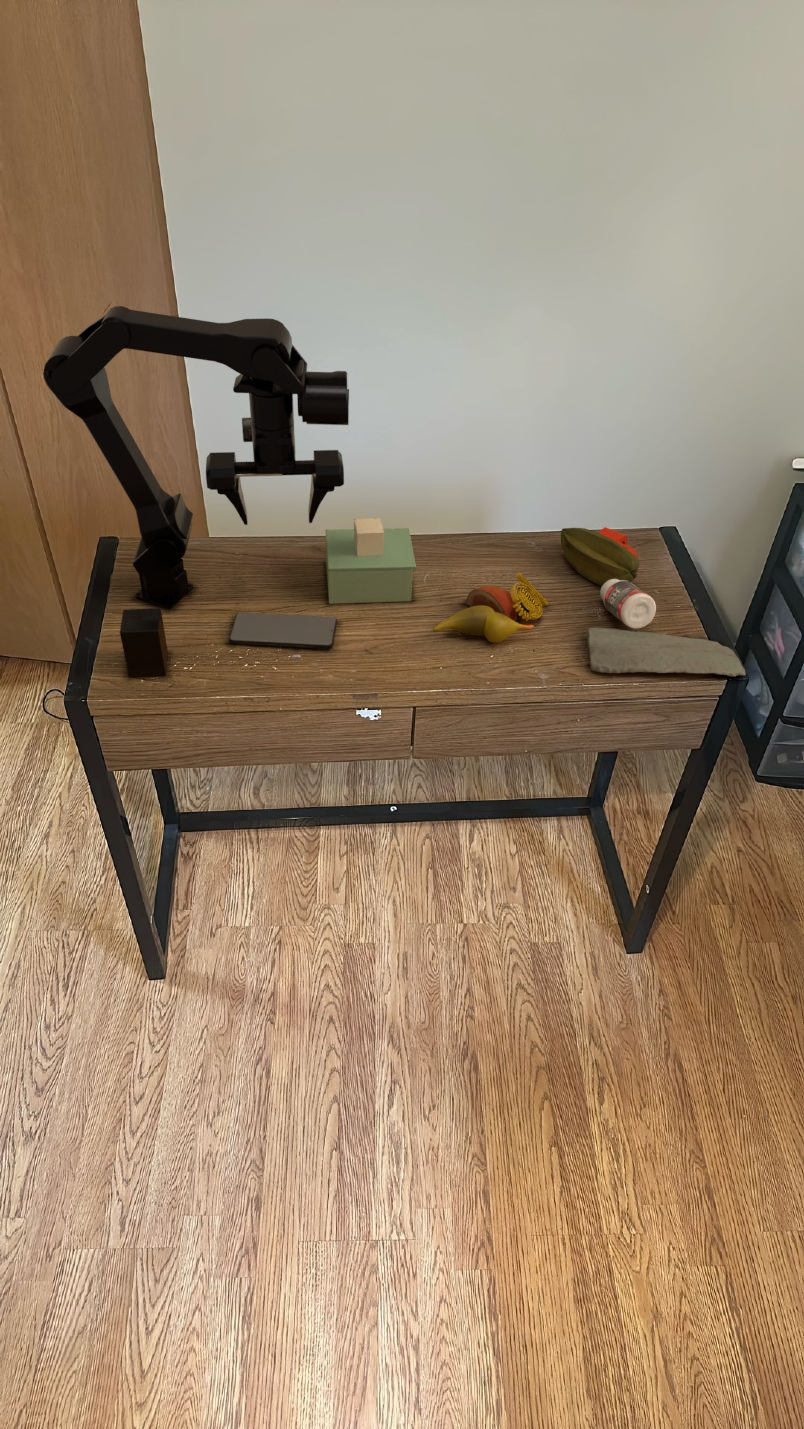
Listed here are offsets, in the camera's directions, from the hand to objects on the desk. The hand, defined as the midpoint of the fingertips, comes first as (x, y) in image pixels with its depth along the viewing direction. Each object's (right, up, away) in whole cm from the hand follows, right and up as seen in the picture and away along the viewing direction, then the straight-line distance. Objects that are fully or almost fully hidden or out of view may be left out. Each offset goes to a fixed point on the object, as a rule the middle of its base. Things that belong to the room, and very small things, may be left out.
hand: (278, 522), depth 140 cm
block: (+13, -2, +8) cm, 15 cm away
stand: (-18, -21, -4) cm, 28 cm away
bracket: (+50, -1, +18) cm, 53 cm away
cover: (+13, -3, +8) cm, 16 cm away
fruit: (+52, -1, +16) cm, 54 cm away
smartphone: (+1, -16, +2) cm, 16 cm away
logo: (+38, -8, +9) cm, 40 cm away
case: (+12, -7, +12) cm, 19 cm away
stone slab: (+56, -16, +5) cm, 58 cm away
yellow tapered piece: (+29, -13, +4) cm, 32 cm away
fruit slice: (+33, -9, +6) cm, 35 cm away
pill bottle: (+53, -13, +1) cm, 54 cm away
